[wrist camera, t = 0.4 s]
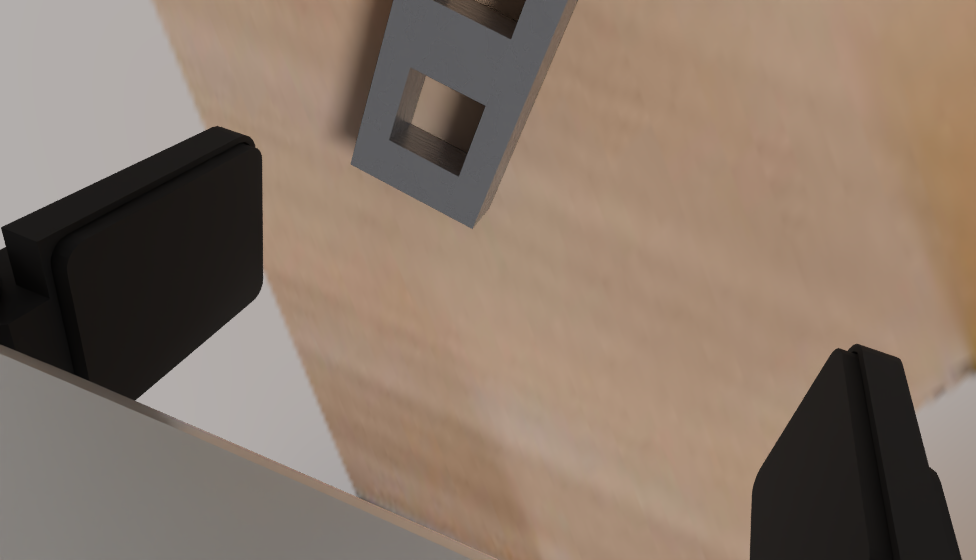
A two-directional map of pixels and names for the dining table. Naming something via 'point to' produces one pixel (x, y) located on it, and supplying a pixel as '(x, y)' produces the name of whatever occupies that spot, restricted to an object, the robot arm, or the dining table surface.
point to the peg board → (469, 70)
